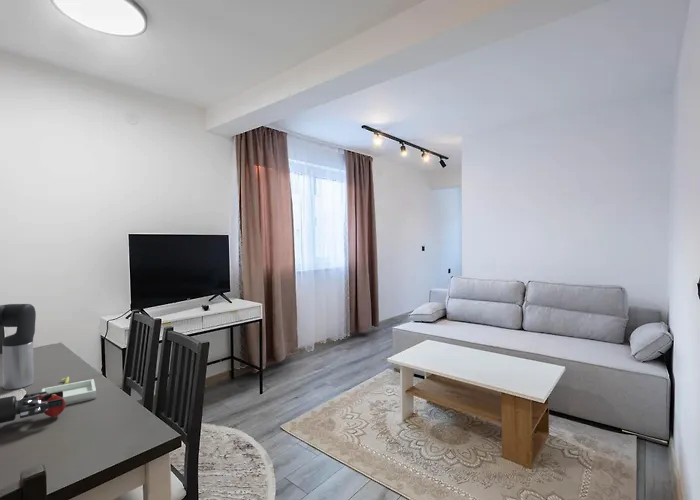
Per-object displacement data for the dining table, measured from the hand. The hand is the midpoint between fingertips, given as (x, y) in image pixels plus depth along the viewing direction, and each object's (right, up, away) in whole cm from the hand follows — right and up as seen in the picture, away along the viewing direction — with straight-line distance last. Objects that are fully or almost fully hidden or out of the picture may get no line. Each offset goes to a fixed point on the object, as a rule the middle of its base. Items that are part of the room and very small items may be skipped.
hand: (62, 397), depth 122 cm
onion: (-2, -6, -1) cm, 7 cm away
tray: (-9, -6, +14) cm, 17 cm away
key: (-18, -6, +24) cm, 31 cm away
